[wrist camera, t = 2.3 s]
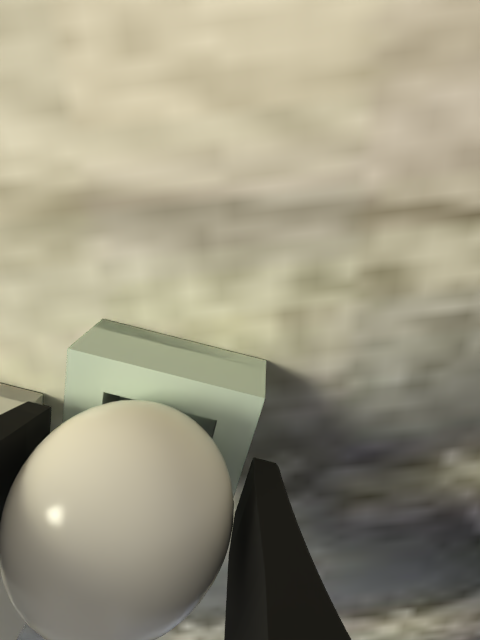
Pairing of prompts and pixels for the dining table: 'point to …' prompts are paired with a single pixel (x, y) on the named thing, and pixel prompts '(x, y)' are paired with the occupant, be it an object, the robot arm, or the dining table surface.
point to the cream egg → (116, 524)
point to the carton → (3, 619)
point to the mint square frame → (170, 382)
